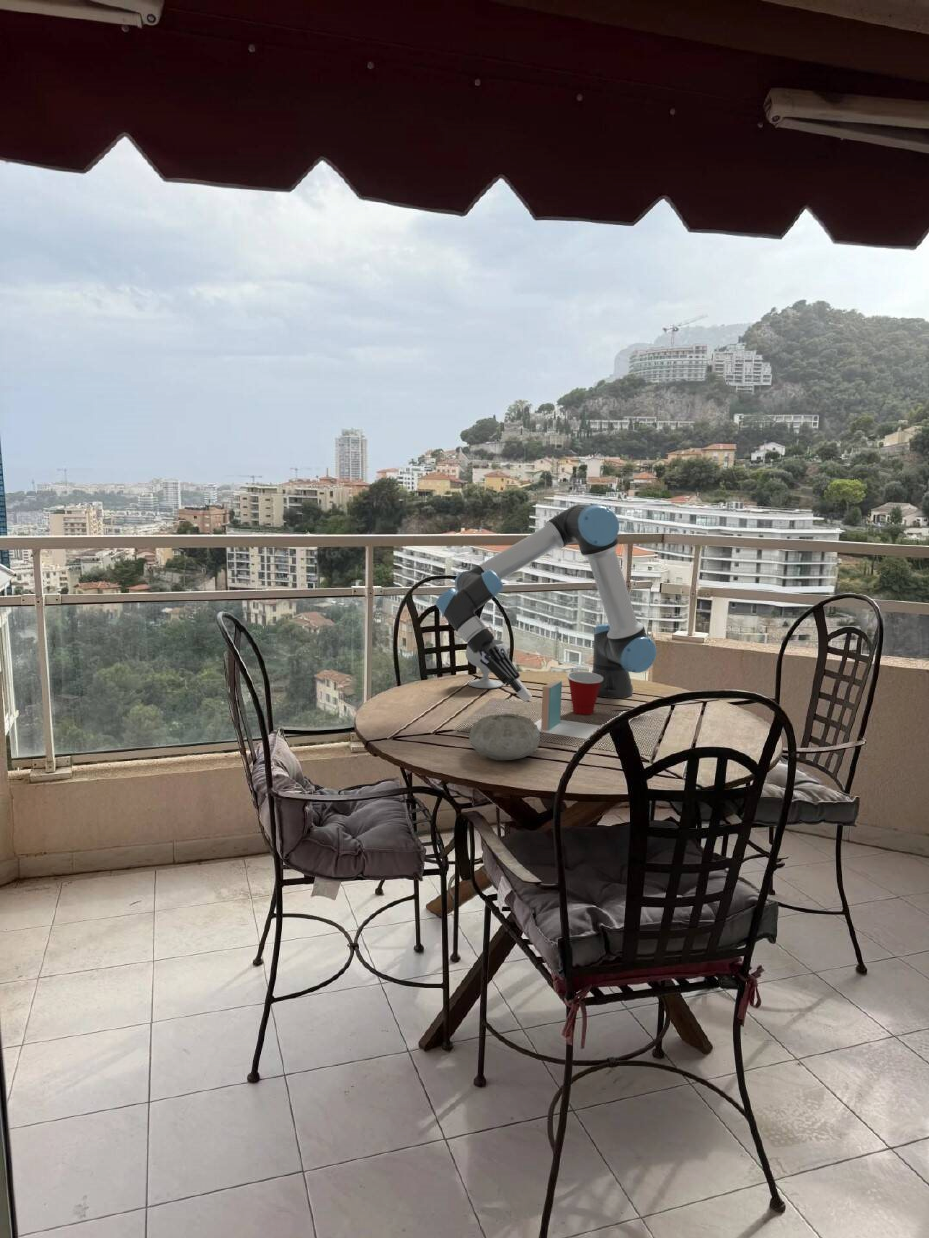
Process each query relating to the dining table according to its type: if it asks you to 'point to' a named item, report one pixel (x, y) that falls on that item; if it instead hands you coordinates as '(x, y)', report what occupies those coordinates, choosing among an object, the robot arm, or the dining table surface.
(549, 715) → the tan flat block
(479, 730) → the grey rounded stone
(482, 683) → the chalice
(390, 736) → the dining table surface
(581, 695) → the plastic cup
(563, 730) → the mat
